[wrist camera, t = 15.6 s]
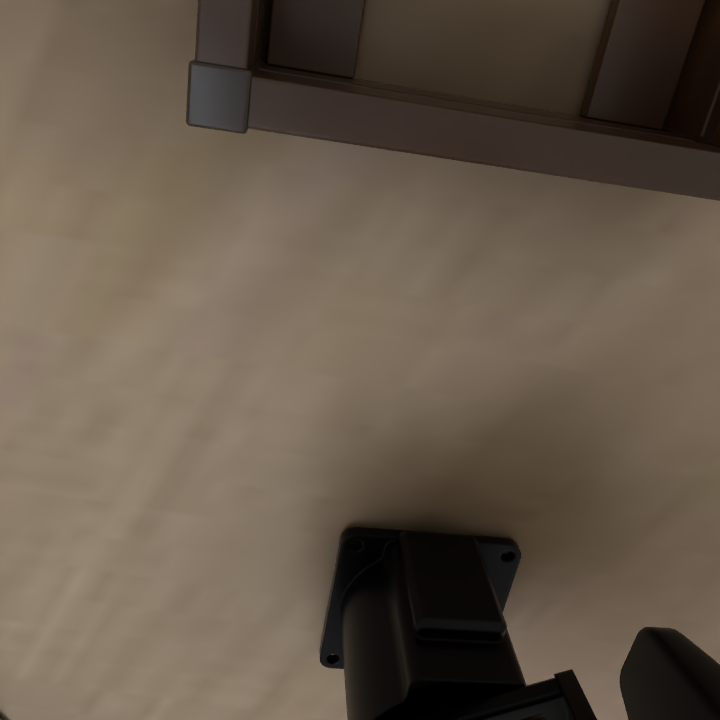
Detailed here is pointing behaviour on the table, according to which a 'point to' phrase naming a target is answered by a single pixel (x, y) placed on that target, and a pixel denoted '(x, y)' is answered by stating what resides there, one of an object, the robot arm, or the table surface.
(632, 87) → the crate
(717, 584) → the table surface
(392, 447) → the table surface
